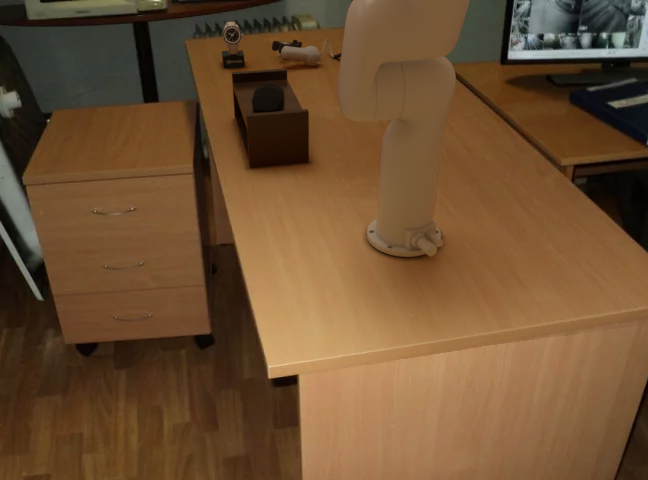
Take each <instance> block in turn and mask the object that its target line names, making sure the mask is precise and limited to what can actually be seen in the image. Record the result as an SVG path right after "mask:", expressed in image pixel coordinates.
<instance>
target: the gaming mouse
mask: <svg viewBox="0 0 648 480" xmlns="http://www.w3.org/2000/svg"><path fill="white" fill-rule="evenodd" d="M253 94H254V95H253V98H252V106H253V108H255V109H258V110H261V111H274V110H279V109H281V108H282V107H283V105H284V90H283V88H282V87H280V86H278V85H276V84H275V83H273V82H272V81H269V82H267V83H265V84H263V85H261V86H259V87H257V88H256V89H255V91H254V93H253Z"/></svg>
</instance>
